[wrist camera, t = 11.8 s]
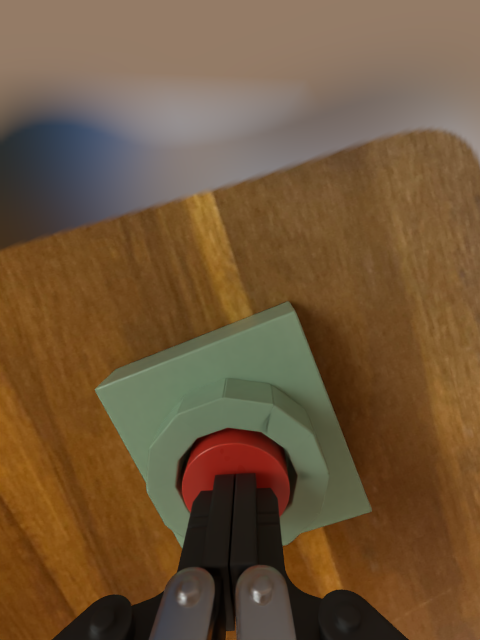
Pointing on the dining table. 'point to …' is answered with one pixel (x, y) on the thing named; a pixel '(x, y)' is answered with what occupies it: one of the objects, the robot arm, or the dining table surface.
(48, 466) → the dining table surface
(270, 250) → the dining table surface
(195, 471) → the button
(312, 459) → the button block
